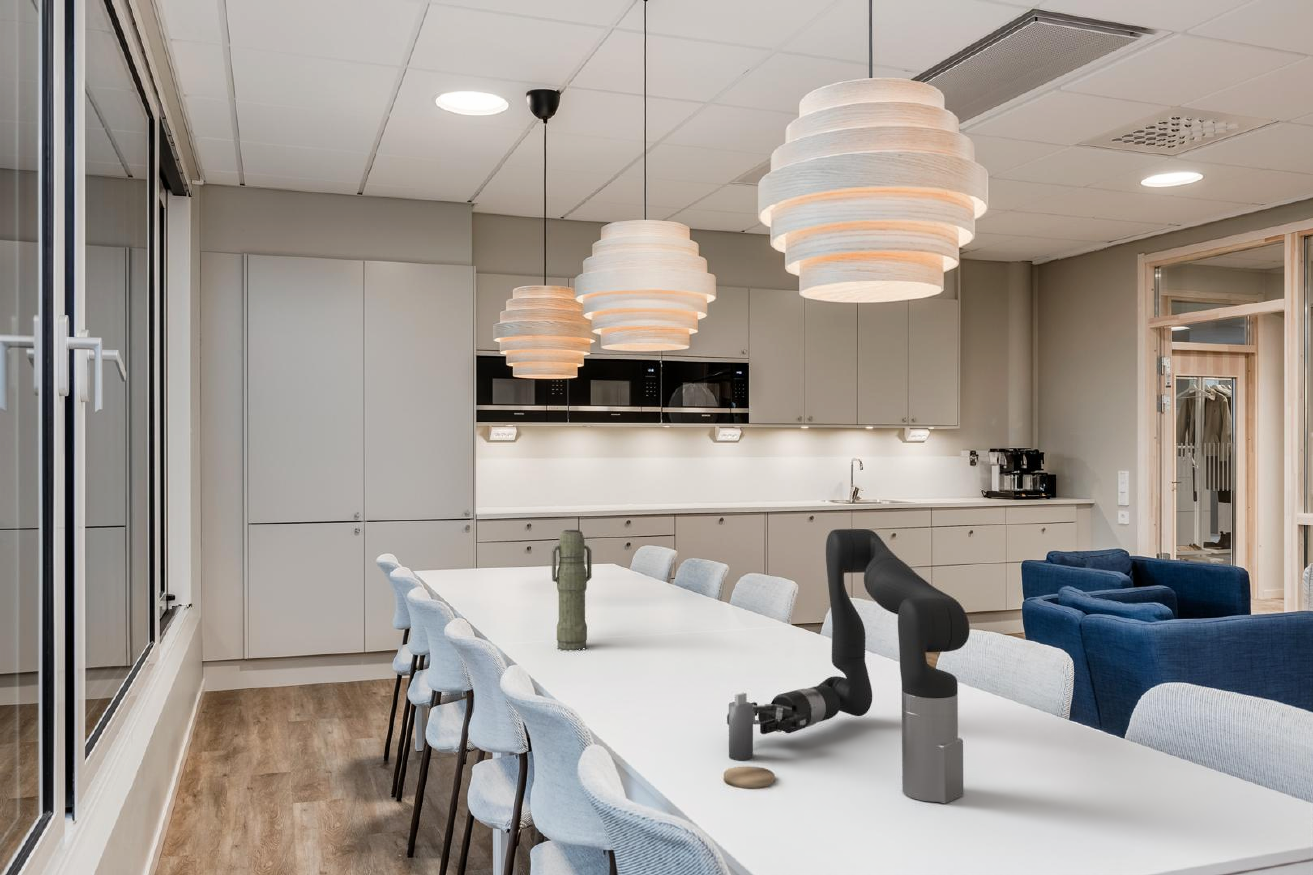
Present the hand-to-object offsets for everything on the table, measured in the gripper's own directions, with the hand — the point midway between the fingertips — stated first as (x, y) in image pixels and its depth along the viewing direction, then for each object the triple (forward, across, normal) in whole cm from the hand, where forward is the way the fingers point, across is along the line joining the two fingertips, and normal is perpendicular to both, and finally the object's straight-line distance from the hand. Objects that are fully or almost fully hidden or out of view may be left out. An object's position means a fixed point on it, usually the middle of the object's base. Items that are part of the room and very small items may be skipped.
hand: (744, 724), depth 192 cm
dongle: (+1, 0, +6) cm, 6 cm away
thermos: (-41, -106, +6) cm, 114 cm away
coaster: (+10, +10, +6) cm, 15 cm away
